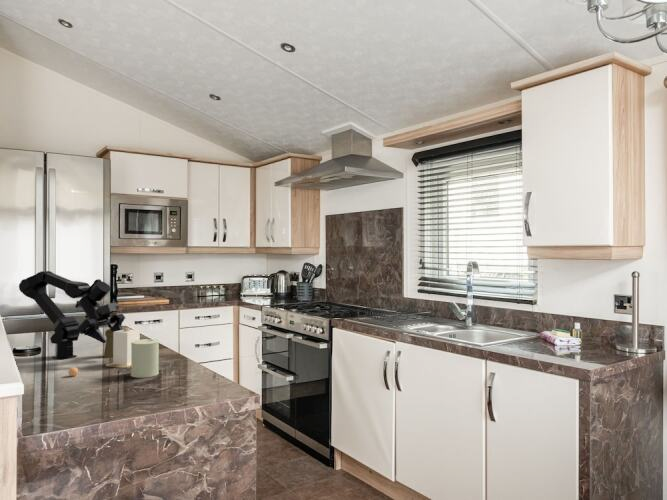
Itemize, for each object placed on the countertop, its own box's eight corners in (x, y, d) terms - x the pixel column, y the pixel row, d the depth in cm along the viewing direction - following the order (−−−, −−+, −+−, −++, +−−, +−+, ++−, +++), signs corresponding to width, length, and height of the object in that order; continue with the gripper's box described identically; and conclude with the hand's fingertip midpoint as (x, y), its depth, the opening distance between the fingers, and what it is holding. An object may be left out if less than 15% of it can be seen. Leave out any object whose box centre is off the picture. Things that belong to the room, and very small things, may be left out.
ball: (66, 376, 174) (66, 367, 173) (74, 374, 176) (74, 365, 176) (71, 377, 172) (71, 368, 172) (80, 375, 175) (80, 367, 175)
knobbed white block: (113, 363, 190) (113, 329, 190) (125, 360, 196) (126, 326, 196) (127, 365, 188) (127, 330, 188) (139, 361, 194) (139, 327, 194)
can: (164, 372, 180) (164, 338, 180) (146, 378, 172) (147, 343, 172) (143, 370, 183) (143, 337, 183) (124, 376, 175) (125, 341, 175)
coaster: (105, 365, 189) (105, 364, 189) (125, 360, 198) (125, 358, 198) (127, 368, 186) (127, 366, 186) (146, 362, 195) (146, 361, 195)
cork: (114, 358, 202) (114, 330, 202) (100, 357, 204) (100, 329, 204) (123, 354, 208) (123, 328, 208) (110, 354, 209) (110, 327, 209)
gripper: (85, 297, 187) (107, 330, 183) (122, 293, 204) (143, 323, 201) (68, 317, 190) (90, 350, 186) (106, 311, 207) (127, 341, 204)
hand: (114, 340), depth 194 cm, fingers open, 9 cm apart
